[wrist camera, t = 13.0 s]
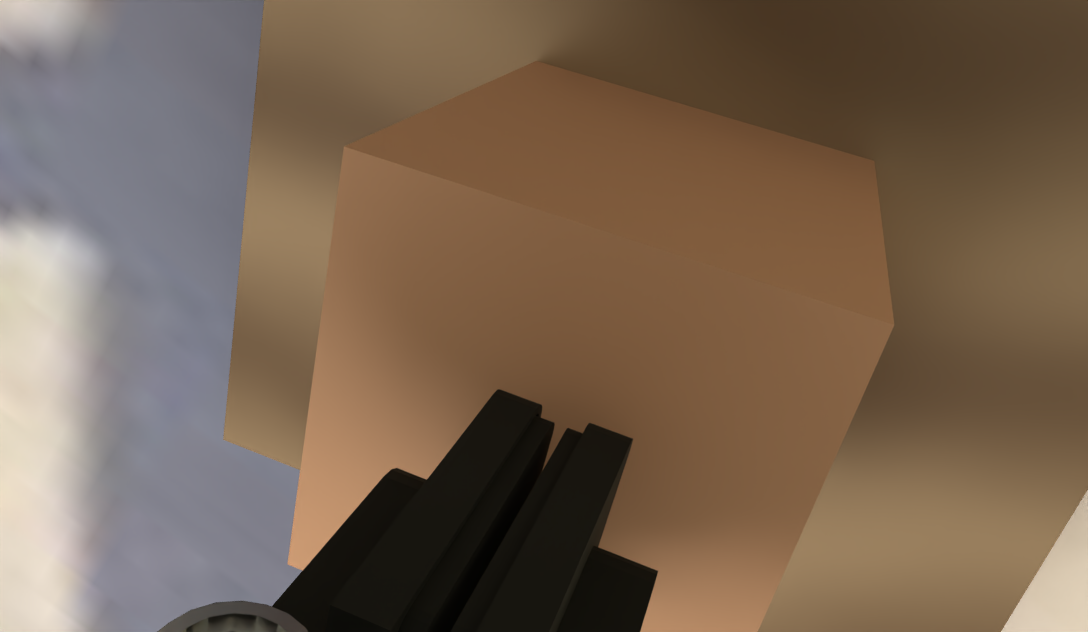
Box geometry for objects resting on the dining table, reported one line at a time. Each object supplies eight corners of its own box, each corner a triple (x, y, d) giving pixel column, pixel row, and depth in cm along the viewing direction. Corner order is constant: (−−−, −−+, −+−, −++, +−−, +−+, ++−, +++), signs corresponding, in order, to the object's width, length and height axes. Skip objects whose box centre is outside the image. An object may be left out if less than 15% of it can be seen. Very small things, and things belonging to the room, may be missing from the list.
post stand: (333, -286, 18) (26, -410, 11) (1355, -36, 15) (1771, 0, 8) (256, 411, 25) (40, 590, 18) (937, 675, 22) (978, 1005, 15)
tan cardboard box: (536, 61, 18) (344, 146, 11) (874, 161, 16) (894, 325, 10) (472, 352, 20) (287, 563, 14) (757, 453, 19) (710, 738, 13)
